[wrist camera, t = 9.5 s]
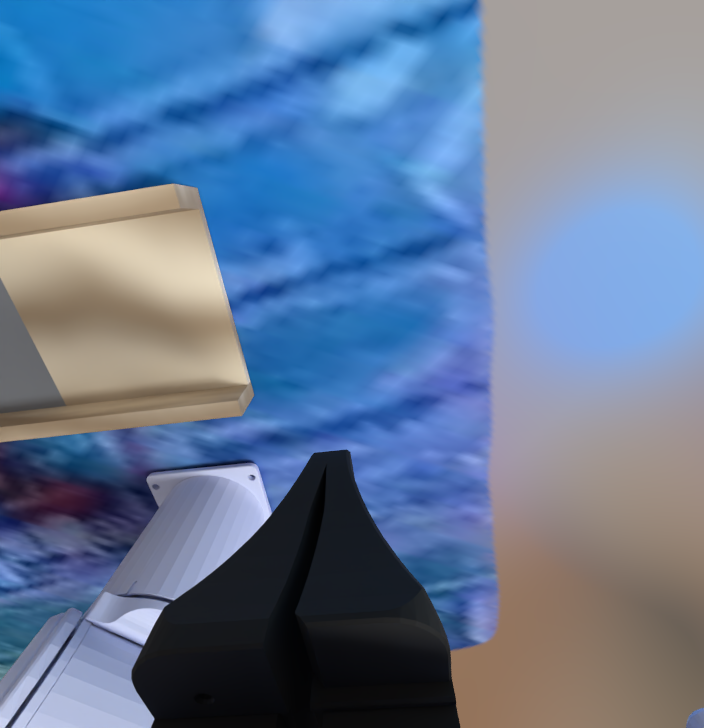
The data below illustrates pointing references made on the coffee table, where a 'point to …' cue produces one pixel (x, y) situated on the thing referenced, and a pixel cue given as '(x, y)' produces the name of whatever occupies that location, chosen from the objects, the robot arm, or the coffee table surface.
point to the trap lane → (114, 317)
